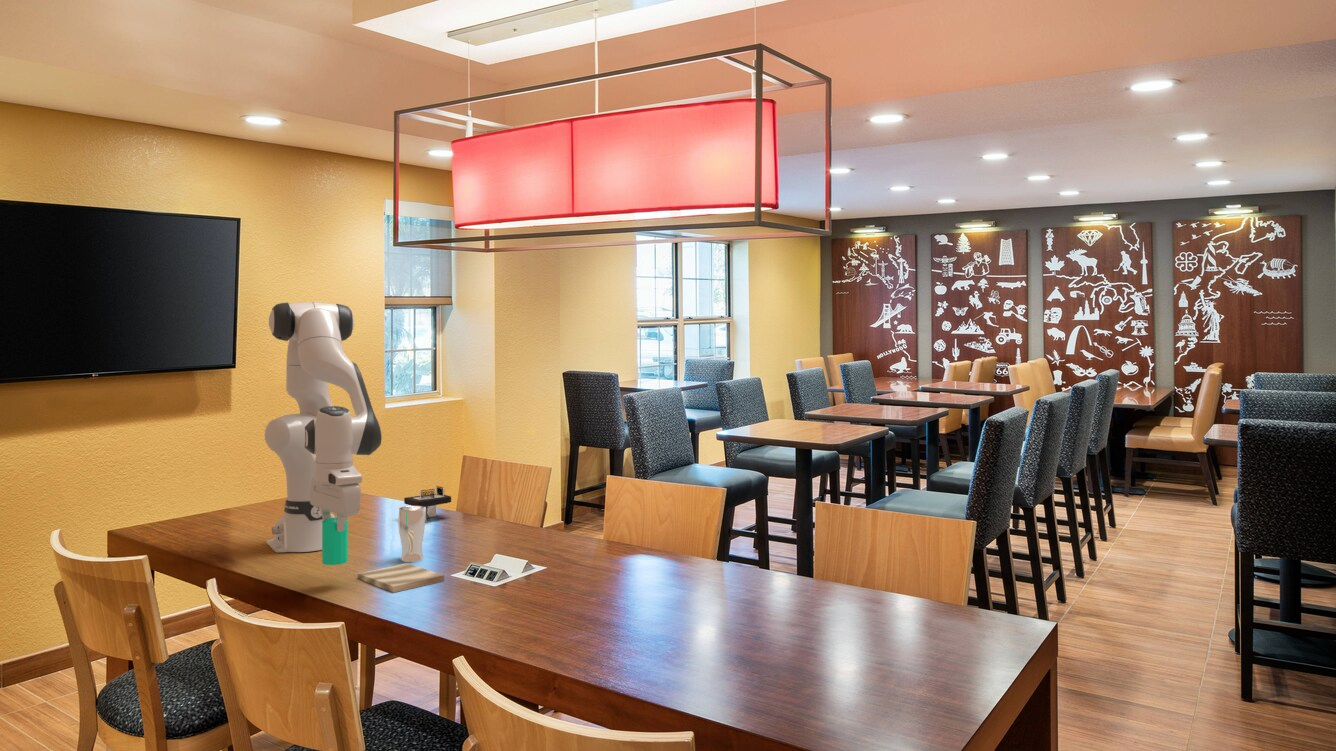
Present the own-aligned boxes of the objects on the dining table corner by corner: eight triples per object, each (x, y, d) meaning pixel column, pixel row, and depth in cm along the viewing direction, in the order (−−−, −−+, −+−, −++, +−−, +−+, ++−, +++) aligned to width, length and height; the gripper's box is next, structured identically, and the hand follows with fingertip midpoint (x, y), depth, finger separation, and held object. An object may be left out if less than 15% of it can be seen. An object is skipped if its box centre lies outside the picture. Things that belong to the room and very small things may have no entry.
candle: (341, 557, 220) (341, 510, 219) (352, 562, 216) (352, 514, 215) (317, 561, 216) (318, 513, 215) (328, 566, 211) (328, 517, 211)
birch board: (357, 579, 222) (357, 573, 222) (407, 568, 233) (407, 563, 233) (393, 592, 210) (393, 586, 210) (444, 581, 220) (444, 575, 220)
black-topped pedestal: (408, 541, 267) (407, 498, 267) (371, 528, 287) (370, 488, 286) (487, 528, 286) (487, 487, 286) (448, 516, 306) (447, 479, 305)
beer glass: (417, 565, 236) (417, 510, 236) (394, 564, 238) (393, 509, 237) (429, 559, 243) (429, 505, 243) (406, 558, 244) (406, 505, 244)
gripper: (302, 469, 219) (302, 523, 220) (340, 479, 205) (340, 537, 206) (327, 466, 224) (327, 520, 224) (365, 476, 210) (365, 533, 210)
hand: (333, 528), depth 215 cm, fingers closed on candle, 5 cm apart
